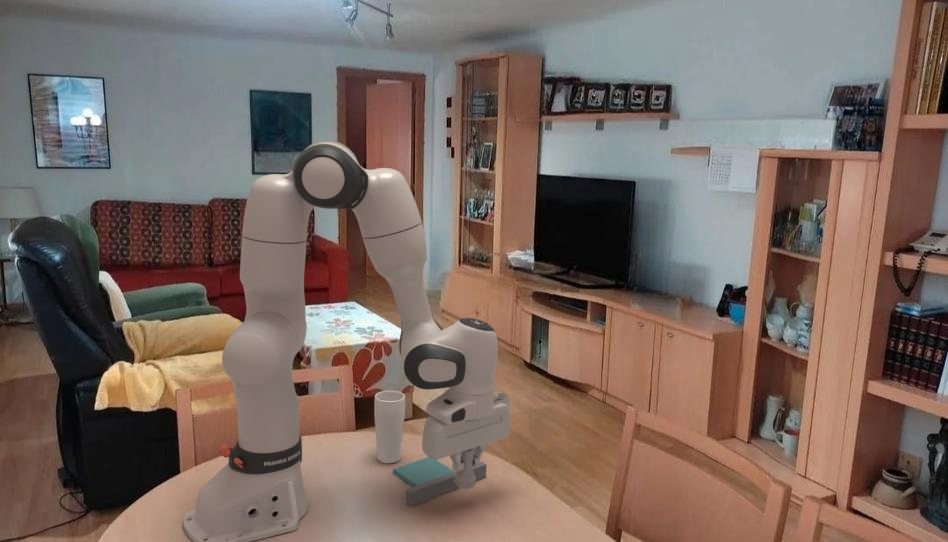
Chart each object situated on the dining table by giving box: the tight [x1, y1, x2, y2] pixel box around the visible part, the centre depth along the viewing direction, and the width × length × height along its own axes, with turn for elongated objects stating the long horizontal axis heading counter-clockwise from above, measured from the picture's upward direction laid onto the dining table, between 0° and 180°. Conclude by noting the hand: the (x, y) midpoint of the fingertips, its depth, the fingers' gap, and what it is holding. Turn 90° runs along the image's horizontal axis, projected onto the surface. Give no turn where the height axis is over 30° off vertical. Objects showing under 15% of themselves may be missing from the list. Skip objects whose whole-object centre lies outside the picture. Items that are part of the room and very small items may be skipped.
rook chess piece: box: [454, 448, 477, 490], centre depth 137 cm, size 4×4×8 cm
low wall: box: [405, 461, 488, 507], centre depth 143 cm, size 20×2×3 cm, turn 131°
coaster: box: [392, 456, 455, 488], centre depth 149 cm, size 10×10×1 cm
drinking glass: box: [373, 390, 406, 464], centre depth 154 cm, size 7×7×15 cm
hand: (466, 467), depth 137 cm, fingers closed on rook chess piece, 3 cm apart
